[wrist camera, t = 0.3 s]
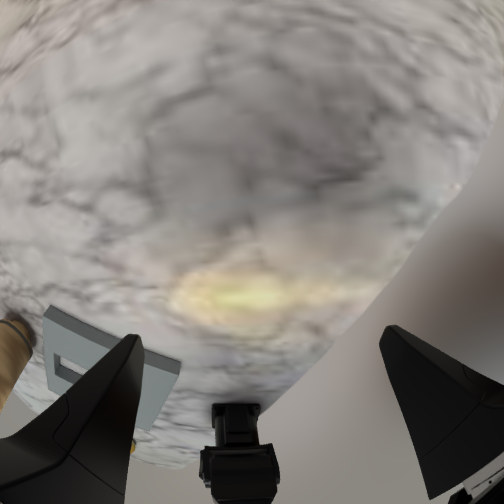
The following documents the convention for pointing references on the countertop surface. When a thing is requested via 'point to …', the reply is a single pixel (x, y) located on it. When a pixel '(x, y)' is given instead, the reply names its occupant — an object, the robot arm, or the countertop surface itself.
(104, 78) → the countertop surface
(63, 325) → the slate board
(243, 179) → the countertop surface
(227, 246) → the countertop surface
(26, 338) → the oak leg
